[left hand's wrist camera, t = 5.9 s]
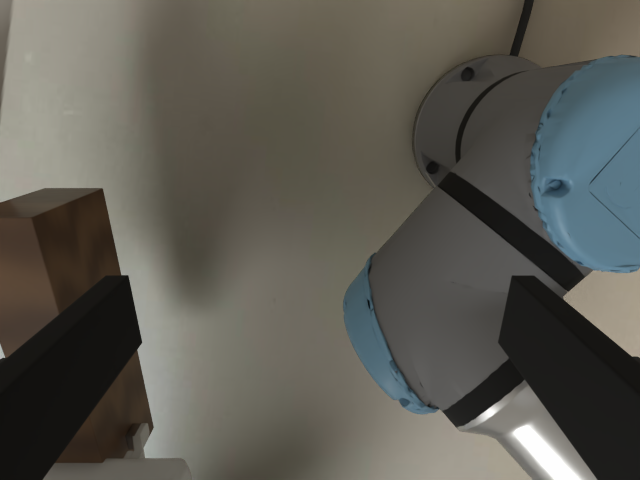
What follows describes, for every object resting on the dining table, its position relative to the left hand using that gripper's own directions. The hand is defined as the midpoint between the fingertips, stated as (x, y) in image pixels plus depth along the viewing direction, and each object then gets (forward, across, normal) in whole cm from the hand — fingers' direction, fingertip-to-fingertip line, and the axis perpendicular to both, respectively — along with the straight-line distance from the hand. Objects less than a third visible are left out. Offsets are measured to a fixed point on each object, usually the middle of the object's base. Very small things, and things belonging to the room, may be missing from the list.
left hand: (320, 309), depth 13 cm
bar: (+20, -21, -14) cm, 33 cm away
